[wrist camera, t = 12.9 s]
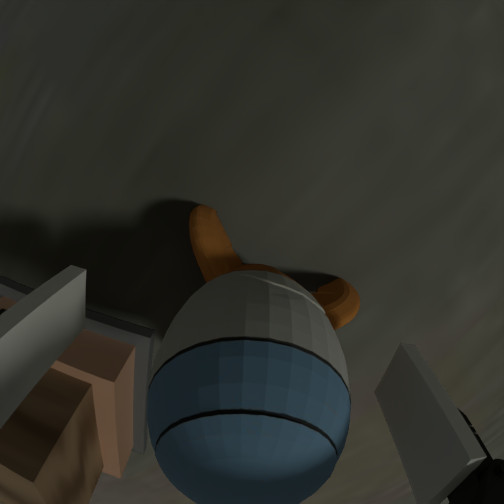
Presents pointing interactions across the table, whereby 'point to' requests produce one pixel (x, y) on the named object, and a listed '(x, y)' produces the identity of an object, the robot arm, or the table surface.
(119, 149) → the table surface
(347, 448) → the table surface
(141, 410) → the build base
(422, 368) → the robot arm
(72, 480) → the walnut brick
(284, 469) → the toy rocket
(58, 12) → the table surface
